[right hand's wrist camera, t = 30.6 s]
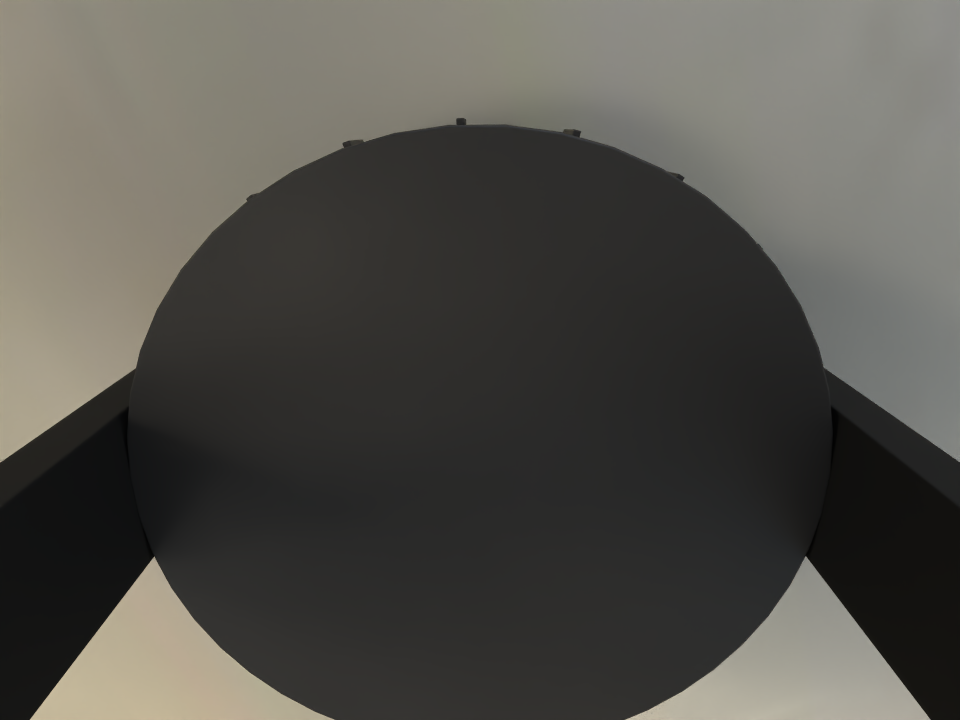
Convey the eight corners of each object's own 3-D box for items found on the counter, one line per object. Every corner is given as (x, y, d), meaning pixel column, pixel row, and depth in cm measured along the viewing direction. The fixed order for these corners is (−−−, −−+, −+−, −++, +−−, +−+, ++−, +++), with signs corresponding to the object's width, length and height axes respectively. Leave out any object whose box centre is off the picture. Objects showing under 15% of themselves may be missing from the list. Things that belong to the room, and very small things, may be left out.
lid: (325, 734, 14) (306, 806, 13) (46, 258, 10) (-27, 280, 9) (831, 602, 13) (878, 665, 11) (718, 6, 9) (764, -18, 8)
